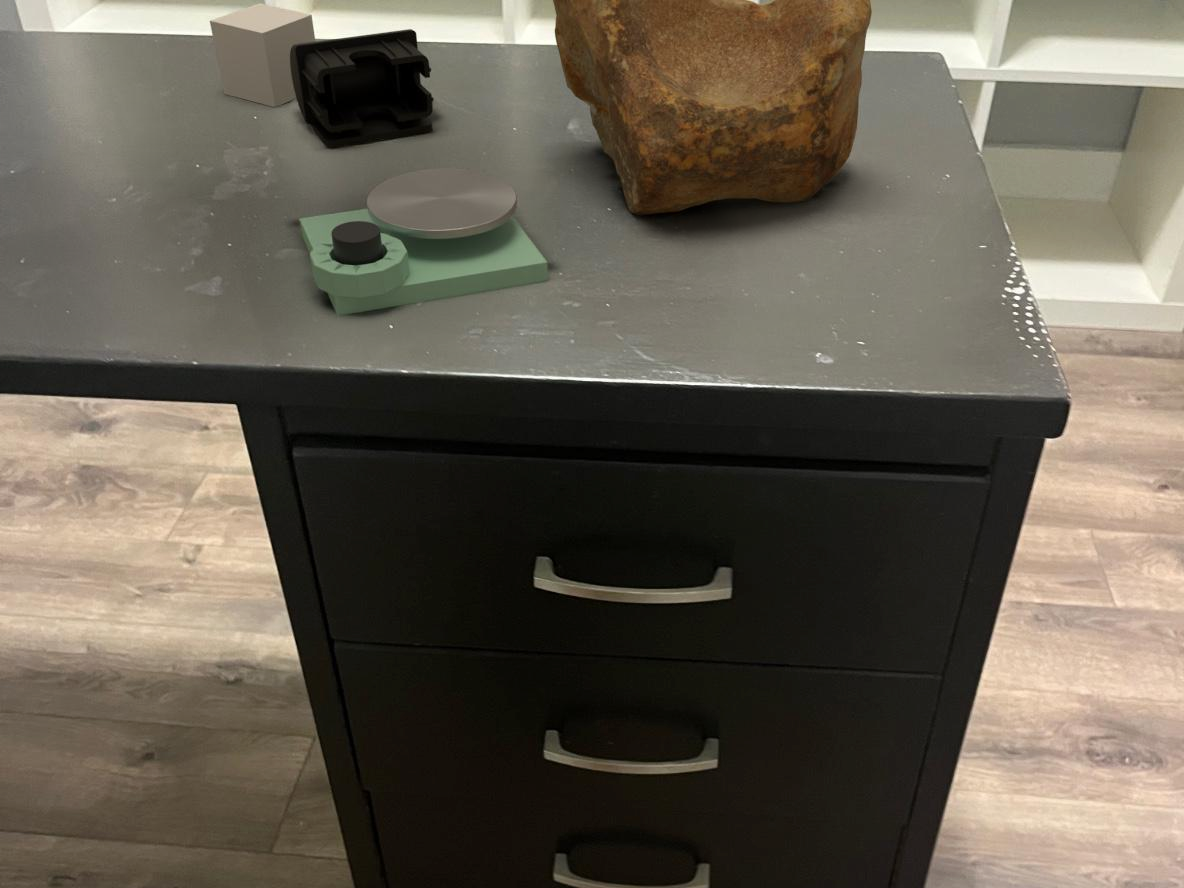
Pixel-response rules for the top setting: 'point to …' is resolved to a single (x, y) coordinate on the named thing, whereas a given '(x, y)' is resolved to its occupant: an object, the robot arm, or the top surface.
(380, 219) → the weighing pan
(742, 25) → the rough brown rock
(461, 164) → the top surface
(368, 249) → the tare button
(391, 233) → the scale
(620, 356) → the top surface
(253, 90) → the beige cube
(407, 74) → the end cap
